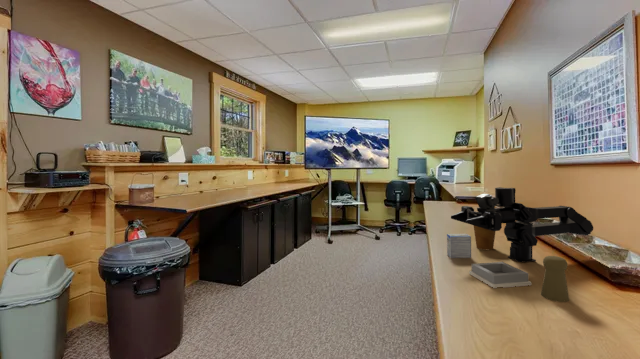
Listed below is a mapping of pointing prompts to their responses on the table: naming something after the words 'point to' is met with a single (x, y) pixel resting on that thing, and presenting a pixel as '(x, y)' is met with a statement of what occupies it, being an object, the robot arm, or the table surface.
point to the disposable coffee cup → (484, 238)
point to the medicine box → (459, 245)
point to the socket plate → (499, 274)
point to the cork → (555, 279)
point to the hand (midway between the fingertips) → (458, 219)
